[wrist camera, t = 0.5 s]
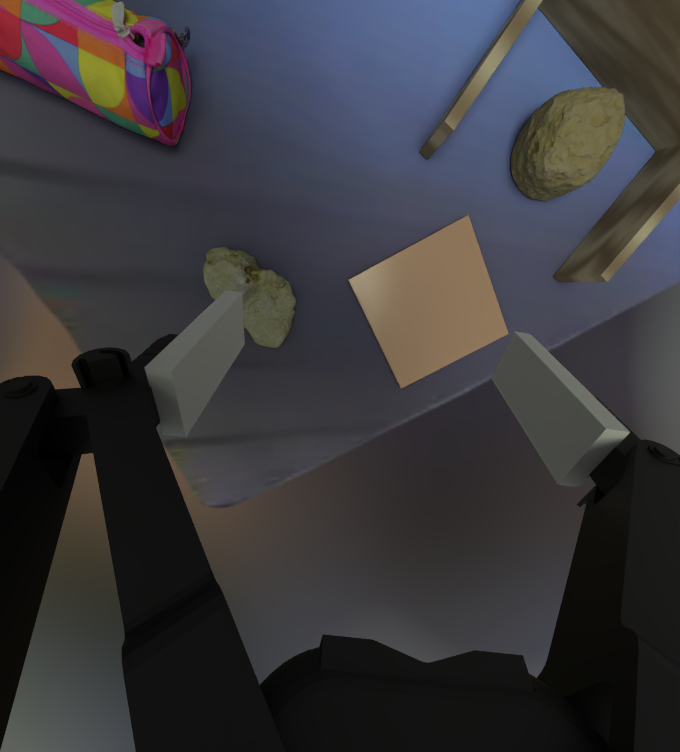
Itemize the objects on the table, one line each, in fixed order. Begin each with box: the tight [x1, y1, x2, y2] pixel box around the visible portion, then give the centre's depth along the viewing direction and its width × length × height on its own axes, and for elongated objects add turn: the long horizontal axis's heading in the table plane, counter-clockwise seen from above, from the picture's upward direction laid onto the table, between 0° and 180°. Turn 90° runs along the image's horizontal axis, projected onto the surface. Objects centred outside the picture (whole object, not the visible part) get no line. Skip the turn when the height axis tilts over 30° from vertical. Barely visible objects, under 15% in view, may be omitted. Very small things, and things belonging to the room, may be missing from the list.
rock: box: [203, 247, 296, 348], centre depth 36 cm, size 11×6×10 cm
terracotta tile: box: [348, 215, 508, 388], centre depth 40 cm, size 16×16×1 cm
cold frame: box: [420, 0, 680, 282], centre depth 23 cm, size 19×24×27 cm
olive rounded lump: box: [511, 87, 625, 201], centre depth 33 cm, size 9×10×10 cm
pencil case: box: [0, 0, 191, 146], centre depth 26 cm, size 22×9×9 cm, turn 71°
